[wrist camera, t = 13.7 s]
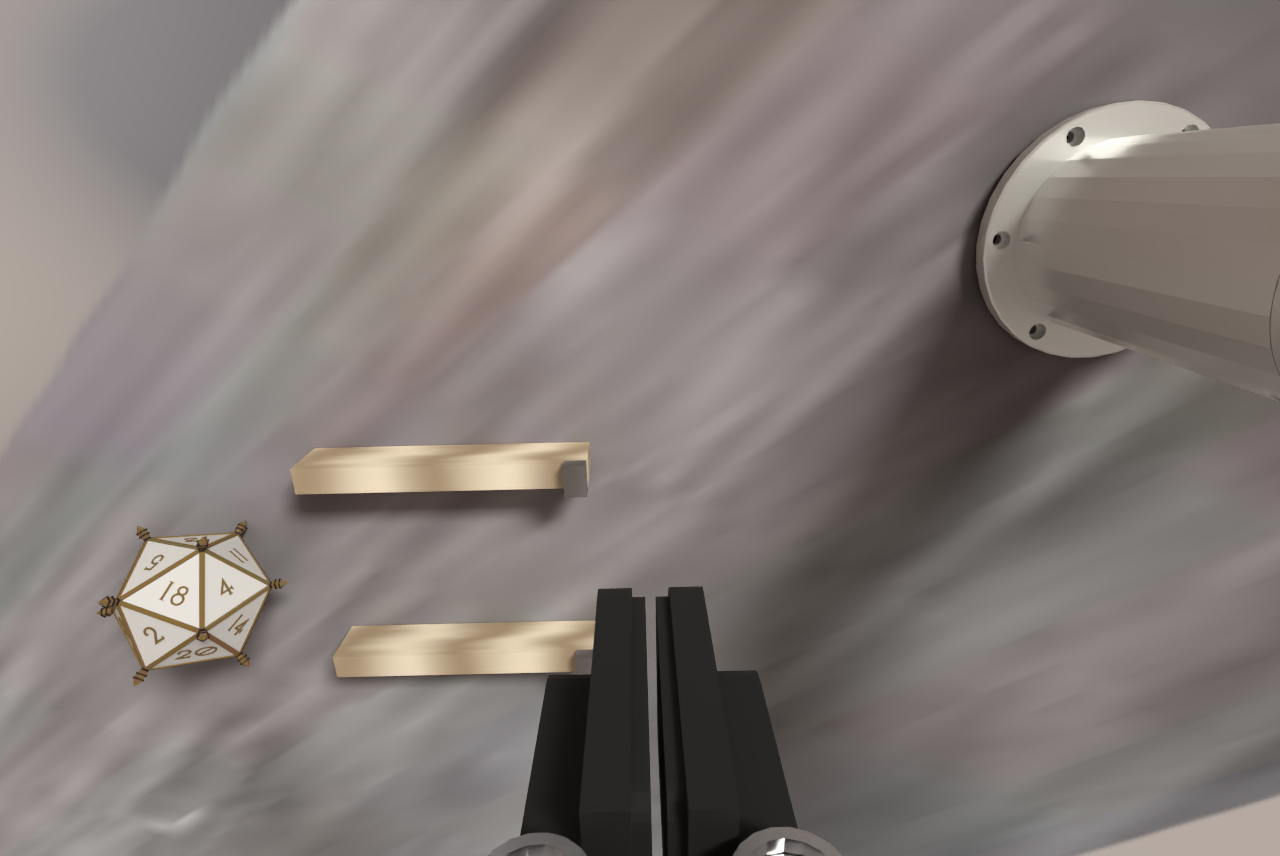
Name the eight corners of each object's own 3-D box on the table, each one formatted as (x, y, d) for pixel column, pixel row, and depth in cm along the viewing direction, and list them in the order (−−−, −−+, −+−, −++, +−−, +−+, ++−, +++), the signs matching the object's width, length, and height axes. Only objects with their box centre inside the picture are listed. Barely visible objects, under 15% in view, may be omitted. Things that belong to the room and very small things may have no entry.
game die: (288, 517, 44) (326, 579, 37) (234, 634, 44) (261, 721, 36) (130, 479, 38) (136, 544, 31) (66, 615, 38) (56, 714, 30)
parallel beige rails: (589, 439, 38) (585, 466, 35) (599, 641, 43) (596, 682, 40) (314, 445, 38) (281, 473, 35) (356, 646, 43) (332, 688, 40)
